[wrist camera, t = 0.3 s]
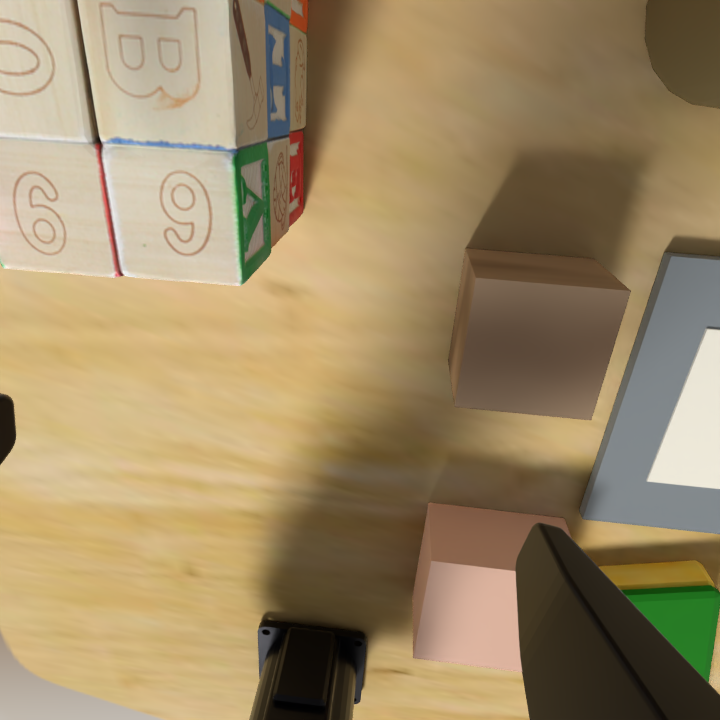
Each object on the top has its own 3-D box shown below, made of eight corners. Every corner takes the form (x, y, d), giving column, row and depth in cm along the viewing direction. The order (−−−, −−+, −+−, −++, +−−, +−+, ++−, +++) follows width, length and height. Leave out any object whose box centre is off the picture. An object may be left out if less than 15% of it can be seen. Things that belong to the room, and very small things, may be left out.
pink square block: (533, 606, 30) (550, 675, 26) (412, 591, 30) (413, 658, 26) (562, 514, 27) (586, 579, 23) (428, 499, 27) (431, 560, 23)
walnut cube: (563, 370, 23) (591, 420, 19) (448, 359, 23) (454, 406, 20) (593, 257, 21) (630, 291, 17) (465, 247, 21) (475, 277, 17)
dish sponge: (699, 553, 27) (723, 592, 25) (679, 714, 33) (698, 757, 31) (555, 562, 28) (567, 600, 26) (561, 716, 34) (571, 758, 32)
